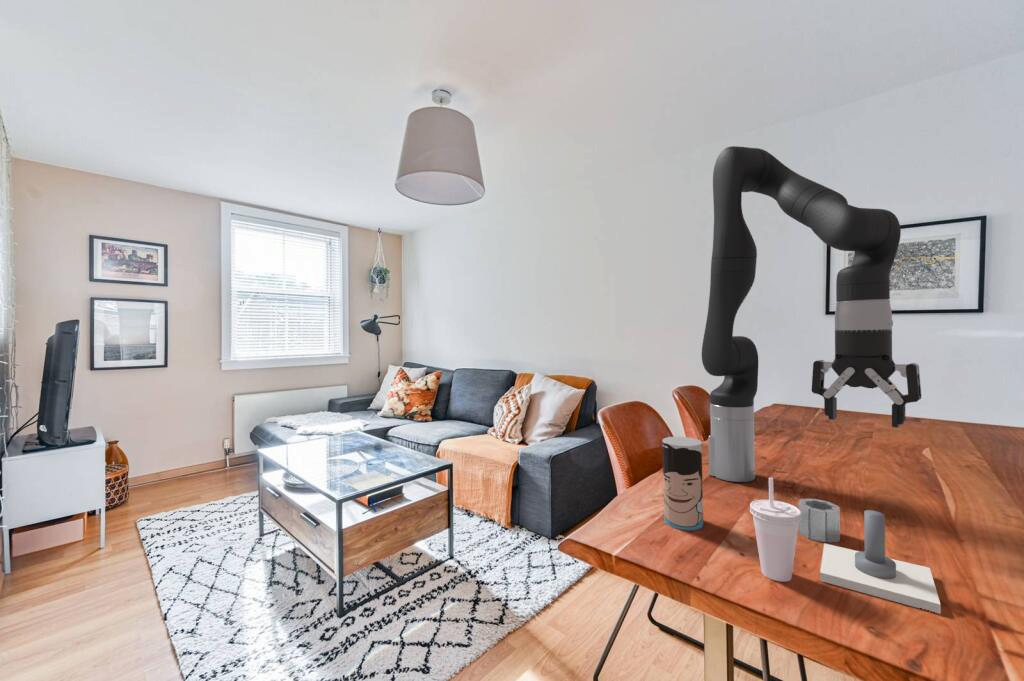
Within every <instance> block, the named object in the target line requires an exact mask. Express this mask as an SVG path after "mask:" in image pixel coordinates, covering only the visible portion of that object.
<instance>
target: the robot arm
mask: <svg viewBox="0 0 1024 681" xmlns="http://www.w3.org/2000/svg"><path fill="white" fill-rule="evenodd" d="M712 173H713V174H712V193H713V194H712V195H713V236H712V237H713V238H712V252H711V253H712V254H711V263H710V278H709V279H710V283H709V284H710V286H709V296H708V305H707V306H708V307H707V315H706V322H705V328H704V334H703V338H702V344H701V361H702V362H701V364H702V366H703V367H704V370H705V371H706V372H707V373H708V374H709V375H711V376H714V377H723V381H722V383H721V384H720V385H719V386H717V387H716V388H714V389H713V390H711V391H710V394H709V405H710V406H709V411H710V435H708V440H707V441H708V476H710V475H711V476H712V477H714V476H715V478H717V479H719V480H723V481H727V482H733V483H749V482H752V481H754V480H756V466H755V464H756V462H755V461H756V459H755V458H756V455H755V453H756V452H755V448H756V447H755V414H754V413H755V408H754V407H755V406H754V405H755V404H754V402H755V396H756V395H757V392H758V386H759V383H758V381H759V378H758V377H759V355H758V349H757V346H756V345H755V342H754V341H753V340H752V339H751V338H749V337H747V336H743V335H736V336H735V335H733V334H734V333H733V332H734V325H735V320H736V316H737V314H738V311H739V309H740V307H741V306H742V304H743V303H744V301H745V299H746V298H747V296H748V294H749V293H750V291H751V290H752V287H753V284H754V282H755V280H756V270H757V258H758V257H757V256H758V250H757V246H756V242H755V240H754V238H753V235H752V233H751V231H750V228H749V227H748V225H747V223H746V221H745V218H744V214H743V208H742V197H743V196H742V195H743V194H742V193H749V192H752V193H757V194H762V195H765V196H768V197H770V198H771V199H773V200H775V201H776V203H777V205H778V206H779V208H780V209H781V211H782V212H783V213H784V214H785V215H787V216H788V217H790V218H792V220H793V219H794V220H795V221H797V222H798V223H800V224H802V225H804V226H805V227H807V228H810V229H811V231H812V233H814V234H815V235H816V236H817V238H819V239H820V240H821V241H822V242H823V243H824V244H826V245H827V246H829V247H831V248H832V249H835V250H839V251H843V252H854V255H853V258H852V261H851V265H850V266H846V267H844V268H841V269H840V270H839V271H838V272H837V274H836V281H835V283H836V285H835V286H836V288H835V290H836V291H835V292H836V294H835V296H836V297H835V298H836V300H835V302H836V303H835V304H836V305H835V312H834V359H833V361H825V360H824V359H819V360H815V361H814V362H813V364H812V376H811V392H812V394H814V395H815V394H816V395H819V396H821V397H823V400H824V401H823V402H824V405H823V406H824V408H823V409H824V410H823V411H824V412H823V413H824V414H825V416H826V417H828V420H832V421H835V420H836V419H837V417H838V414H837V413H838V410H837V408H838V401H837V400H838V398H837V397H836V395H837V394H838V393H839V392H840V391H841V390H842V389H844V387H846V385H847V386H848V387H850V388H860V387H863V388H867V389H875V388H879V389H880V390H881V391H882V393H884V394H886V395H887V397H888V398H889V399H890V400H891V401H893V403H892V404H891V427H892V428H900V427H901V425H902V426H903V424H905V422H906V405H907V404H910V403H917V402H918V401H919V400H921V399H922V388H921V376H920V366H919V365H918V364H917V363H916V362H912V363H908V364H907V363H906V364H905V363H902V364H901V363H899V364H896V363H895V361H894V360H893V326H894V325H893V324H894V321H893V314H892V307H891V299H890V298H891V296H890V295H891V294H890V293H891V290H890V289H891V288H890V287H891V285H890V284H891V283H890V282H891V281H890V273H891V270H892V268H893V266H894V263H895V259H896V254H897V252H898V249H899V244H900V241H901V235H902V233H901V232H902V230H901V229H902V227H901V223H900V221H899V219H898V217H897V216H896V215H895V214H894V213H893V212H892V211H891V210H888V209H883V208H868V207H867V208H866V207H857V206H854V205H851V204H848V200H847V198H846V197H845V196H844V195H843V194H841V193H840V192H837V191H836V190H833V188H829V187H827V186H825V185H823V184H820V183H818V182H816V181H813V180H811V179H809V178H807V177H805V176H802V175H801V174H799V173H797V172H795V171H794V170H792V169H791V168H789V167H788V166H786V165H785V164H783V163H782V162H781V161H780V160H779V159H778V158H776V157H775V156H774V155H772V154H771V153H770V152H769V151H767V150H765V149H762V148H756V147H746V146H738V145H736V146H735V145H734V146H733V145H732V146H728V147H725V148H724V149H723V150H722V151H721V152H720V153H719V154H718V156H717V158H716V159H715V163H714V167H713V172H712ZM830 369H832V370H833V371H834V373H835V374H837V376H838V377H837V378H836V379H835V380H834V381H833V382H832V384H831V385H830V386H829V387H828V388H826V387H824V386H825V375H826V374H827V373H829V371H830ZM896 371H897V372H899V373H900V376H901V377H902V378H906V382H907V383H906V385H907V394H903V393H902V392H901V391H900V389H898V387H897V386H896V385H895V384H894V382H892V380H891V379H890V377H892V375H894V373H895V372H896ZM711 476H710V477H711Z"/></svg>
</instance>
